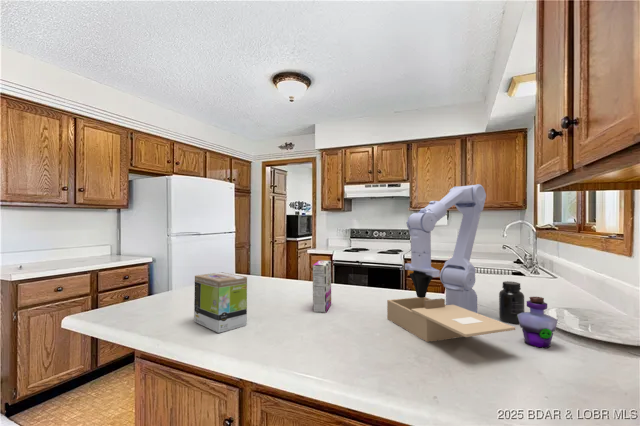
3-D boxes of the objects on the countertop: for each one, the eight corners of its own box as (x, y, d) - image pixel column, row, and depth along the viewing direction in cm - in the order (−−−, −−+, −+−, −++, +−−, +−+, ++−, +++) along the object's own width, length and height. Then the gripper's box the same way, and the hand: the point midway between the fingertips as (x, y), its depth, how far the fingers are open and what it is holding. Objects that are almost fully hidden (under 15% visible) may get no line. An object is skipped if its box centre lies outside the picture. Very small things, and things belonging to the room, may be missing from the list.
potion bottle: (540, 353, 76) (539, 302, 76) (509, 339, 84) (509, 294, 84) (567, 349, 78) (566, 300, 78) (535, 336, 86) (534, 292, 86)
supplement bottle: (494, 317, 102) (494, 280, 103) (514, 317, 103) (513, 280, 103) (508, 325, 96) (508, 285, 96) (530, 324, 96) (529, 284, 96)
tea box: (248, 325, 95) (248, 276, 96) (217, 334, 88) (217, 281, 88) (222, 315, 106) (222, 270, 106) (192, 322, 98) (193, 274, 99)
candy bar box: (318, 303, 120) (318, 260, 120) (331, 304, 118) (331, 260, 119) (311, 312, 109) (311, 264, 109) (326, 313, 108) (326, 264, 108)
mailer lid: (453, 306, 93) (453, 297, 93) (515, 329, 74) (515, 317, 74) (411, 311, 89) (411, 301, 89) (465, 337, 69) (465, 324, 69)
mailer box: (424, 314, 106) (424, 296, 106) (470, 335, 87) (469, 313, 87) (387, 318, 101) (387, 300, 101) (426, 342, 82) (426, 318, 82)
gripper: (396, 250, 102) (396, 292, 102) (424, 255, 88) (425, 304, 88) (415, 249, 104) (415, 290, 104) (445, 254, 90) (446, 302, 90)
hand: (421, 296), depth 96 cm, fingers closed
